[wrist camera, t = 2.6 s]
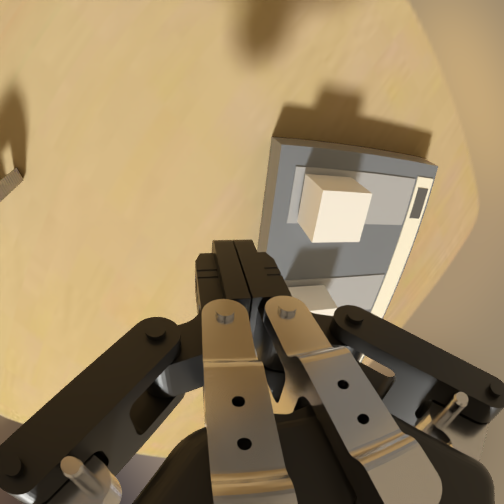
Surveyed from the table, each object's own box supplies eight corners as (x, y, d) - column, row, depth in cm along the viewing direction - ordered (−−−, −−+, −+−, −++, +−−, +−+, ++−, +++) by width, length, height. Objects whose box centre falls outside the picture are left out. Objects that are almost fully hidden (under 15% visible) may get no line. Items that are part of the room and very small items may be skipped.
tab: (305, 173, 17) (323, 190, 15) (351, 177, 18) (372, 193, 16) (297, 221, 19) (312, 242, 17) (340, 221, 20) (359, 242, 18)
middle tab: (284, 287, 22) (295, 312, 20) (324, 284, 22) (337, 308, 20) (277, 319, 23) (287, 344, 21) (314, 315, 24) (326, 339, 22)
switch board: (271, 136, 18) (282, 144, 17) (421, 157, 21) (439, 166, 19) (241, 372, 30) (245, 389, 28) (349, 357, 33) (357, 371, 31)
